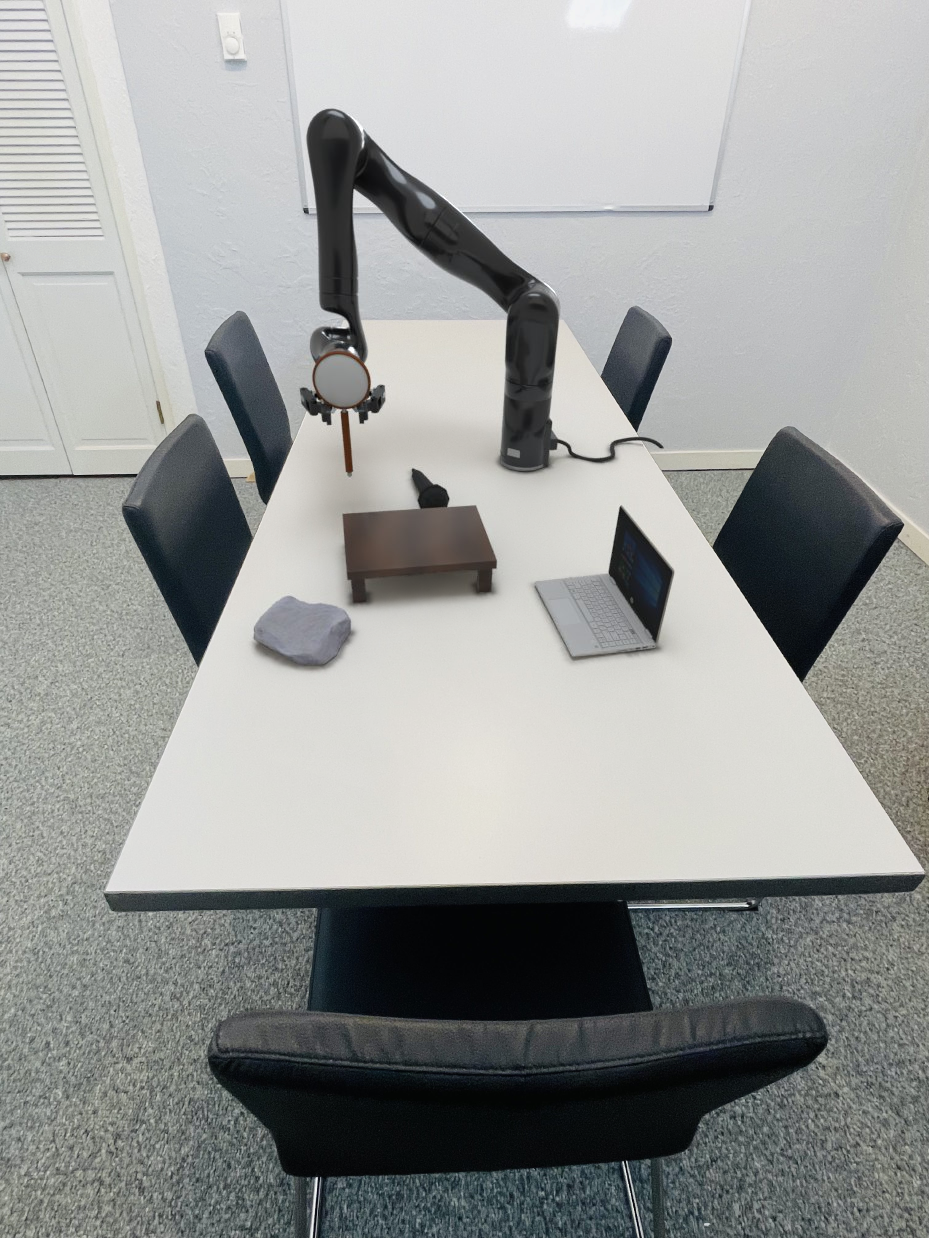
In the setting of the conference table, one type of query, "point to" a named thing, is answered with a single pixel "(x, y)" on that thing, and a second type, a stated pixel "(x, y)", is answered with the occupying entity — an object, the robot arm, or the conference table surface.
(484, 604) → the conference table surface
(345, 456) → the magnifying glass
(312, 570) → the conference table surface
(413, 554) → the walnut table
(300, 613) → the stone block
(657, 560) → the laptop
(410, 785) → the conference table surface
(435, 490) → the microphone
